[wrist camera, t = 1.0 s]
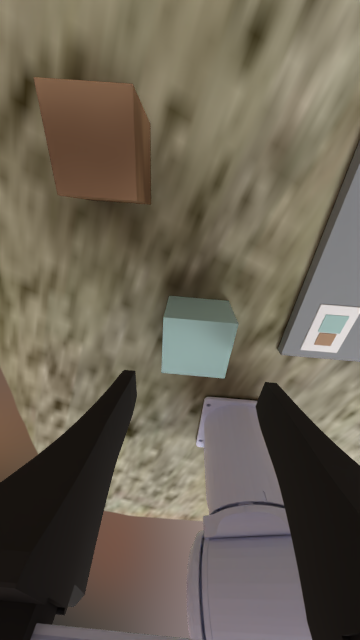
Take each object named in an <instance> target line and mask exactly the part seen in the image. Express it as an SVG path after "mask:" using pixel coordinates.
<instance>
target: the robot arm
mask: <svg viewBox="0 0 360 640" xmlns="http://www.w3.org/2000/svg"><path fill="white" fill-rule="evenodd" d="M136 397H137V391H136V375H135V371H130V370H124V371H122V373H121V374H120V375H119V377H118V378H117V379H116V380H115V381H114V383H113V384H112V385H111V386H110V387H109V389H108V390H107V391H106V392H105V393H104V394H103V395H102V396H101V397H100V399H99V400H98V401H97V402H96V403H95V404H94V405H93V406H92V407H91V408H90V409H89V410H88V411H87V412H86V413H85V414H84V415H83V416H82V417H81V418H80V419H79V420H78V421H77V422H76V423H75V424H74V425H73V426H72V427H70V428H69V429H68V430H67V431H66V432H65V433H64V434H63V435H61V436H60V437H59V438H58V439H57V440H55V441H54V442H53V443H52V444H51V445H49V446H48V447H47V448H46V449H45V450H43V451H42V452H41V453H40V454H38V455H37V456H36V457H35V458H33V459H32V460H30V461H29V462H28V463H26V464H25V465H24V466H22V467H21V468H20V469H18V470H17V471H16V472H14V473H13V474H12V475H10V476H9V477H8V478H6V479H5V480H4V481H2V482H0V640H360V465H358V464H357V463H356V462H355V461H354V460H353V459H351V458H350V457H349V456H348V455H347V454H346V453H345V452H344V451H342V450H341V449H340V448H339V447H338V446H337V445H336V444H335V443H334V442H333V441H332V440H331V439H329V438H328V437H327V436H326V435H325V434H324V433H323V432H322V431H321V430H320V429H319V428H318V427H317V426H316V425H315V424H314V423H313V422H312V421H311V420H310V419H309V418H308V417H307V416H306V415H305V413H304V412H303V411H302V410H301V409H300V408H299V407H298V406H297V405H296V404H295V403H294V402H293V401H292V400H291V398H290V397H289V396H288V395H287V394H286V393H285V392H284V391H283V390H282V389H281V388H280V387H279V385H278V384H277V383H269V382H265V384H264V386H263V389H262V391H261V394H260V396H259V399H258V401H253V400H242V399H230V398H219V397H206V398H205V399H204V404H203V409H202V414H201V419H200V425H199V430H198V435H197V440H196V445H197V446H198V447H204V460H205V479H206V497H207V504H208V508H209V515H207V516H203V524H204V530H203V531H199V532H198V533H197V535H196V538H195V541H194V543H193V545H192V547H191V551H190V555H189V561H188V571H187V617H188V629H189V637H190V639H188V638H177V637H168V636H158V635H148V634H139V633H129V632H118V631H109V630H99V629H89V628H79V627H69V626H59V625H52V623H53V620H54V617H55V614H58V615H65V613H66V610H67V607H68V606H69V607H74V606H75V605H76V604H77V603H78V602H79V601H80V599H81V598H82V597H83V596H84V594H85V591H86V586H87V581H88V577H89V572H90V568H91V563H92V559H93V554H94V550H95V545H96V541H97V537H98V532H99V528H100V524H101V520H102V515H103V511H104V507H105V503H106V499H107V495H108V491H109V487H110V483H111V480H112V476H113V472H114V468H115V465H116V462H117V458H118V455H119V452H120V450H121V447H122V444H123V441H124V438H125V435H126V432H127V429H128V426H129V424H130V421H131V418H132V415H133V411H134V406H135V402H136Z"/></svg>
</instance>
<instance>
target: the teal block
mask: <svg viewBox="0 0 360 640" xmlns="http://www.w3.org/2000/svg"><path fill="white" fill-rule="evenodd" d="M237 328H238V322H237V319H236V317H235V315H234V312H233V310H232V308H231V305H230V303H229V301H225V300H213V299H202V298H190V297H179V296H169V298H168V302H167V306H166V310H165V313H164V317H163V345H162V373H170V374H181V375H192V376H203V377H214V378H225V375H226V371H227V367H228V363H229V359H230V355H231V351H232V347H233V343H234V340H235V336H236V332H237Z"/></svg>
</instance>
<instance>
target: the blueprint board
mask: <svg viewBox="0 0 360 640" xmlns="http://www.w3.org/2000/svg"><path fill="white" fill-rule="evenodd" d="M278 351H279V352H280V354H281V355H288V356H300V357H312V358H323V359H335V360H347V361H359V362H360V141H359V144H358V146H357V149H356V151H355V154H354V156H353V159H352V161H351V164H350V166H349V169H348V172H347V174H346V177H345V179H344V182H343V184H342V187H341V189H340V192H339V194H338V197H337V200H336V202H335V205H334V207H333V210H332V212H331V215H330V217H329V220H328V222H327V225H326V228H325V230H324V233H323V235H322V238H321V240H320V243H319V245H318V248H317V250H316V253H315V256H314V258H313V261H312V263H311V266H310V268H309V271H308V273H307V276H306V278H305V281H304V284H303V286H302V289H301V291H300V294H299V296H298V299H297V301H296V304H295V306H294V309H293V312H292V314H291V317H290V319H289V322H288V324H287V327H286V329H285V332H284V334H283V337H282V340H281V342H280V345H279V347H278Z"/></svg>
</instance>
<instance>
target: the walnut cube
mask: <svg viewBox="0 0 360 640" xmlns="http://www.w3.org/2000/svg"><path fill="white" fill-rule="evenodd" d="M34 81H35V86H36V91H37V96H38V101H39V106H40V111H41V116H42V120H43V125H44V130H45V135H46V140H47V145H48V150H49V155H50V160H51V165H52V170H53V174H54V179H55V184H56V189H57V194H58V195H60V196H67V197H74V198H80V199H87V200H96V201H109V202H123V203H136V204H150V205H151V141H150V122H149V120H148V118H147V115H146V113H145V111H144V109H143V106H142V104H141V102H140V99H139V97H138V95H137V93H136V90H135V88H134V86H133V84H128V83H113V82H98V81H83V80H68V79H53V78H38V77H34Z"/></svg>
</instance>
